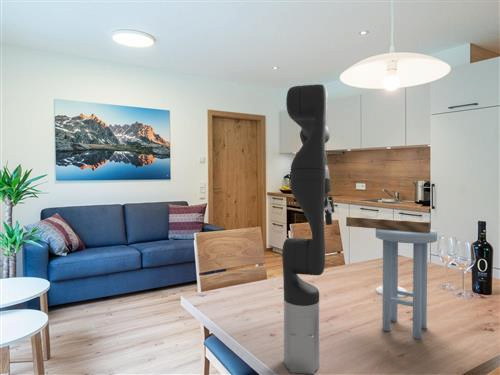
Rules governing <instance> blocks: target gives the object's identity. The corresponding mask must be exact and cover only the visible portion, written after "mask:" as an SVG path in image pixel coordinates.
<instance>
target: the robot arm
mask: <svg viewBox="0 0 500 375" xmlns="http://www.w3.org/2000/svg"><path fill="white" fill-rule="evenodd" d="M328 96H329V95H328V90H327V88H326V85H324V84H322V83H321V84H307V85H306V84H303V85H294V86H291V87H290V88H289V89H288V90H287V94H286V98H285V99H286V103H285V104H286V110H287V114H288V116H289V118H290V119H291V120H292V121H293V122H295V123H296V124H297V125H298V126H299V127H300V129H301V130H300V132H299V138H300V141H301V143H302V146H301V147H300V149H299V150H298V151H297V153H296V154H295V156H294V157H293V160H292V162H291V164H290V181H289V182H290V184H289V185H290V186H289V187H290V188H289V189H290V191H291V194H292V196H293V197H294V200H295V201H296V203H297V204H298V206H299V208H300V209H301V210H302V212H303V214H304V216H305V218H306V220H307V222H308V225H309V226H310V227H309V228H310V231H311V238H301V237H300V238H298V237H297V238H295V237H289V238H286V239H285V240H284V242H283V246H282V252H281V253H282V254H281V256H282V257H281V259H282V260H281V262H282V275H283V278H282V280H283V365H284V366H285V368H287V369H288V370H289V373H291V374H292V373H293V374H310V375H312V374H313V375H314V374H315V371H317V370H318V369H319V368H320V292H319V289H318V287H316V286H315V285H313V284H310V283H309V282H306V281H305V280H303V279H302V278H300V276H299V275H305V276H308V275H309V276H321V275H322V274H323V273H324V270H325V268H326V267H325V266H326V242H325V240H326V239H325V237H326V236H325V225H326V226H330V225H333V219H332V218H333V216H332V215H333V213H335V207H334V199H333V196H332V195H331V196H329V195H328V193H330V192H331V191H332V187H331V178H330V170H329V166H328V165H329V164H328V156H327V151H326V144H327V143H328V141H330V136H331V134H330V130H329V128H328V126H327V116H328Z"/></svg>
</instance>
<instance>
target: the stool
mask: <svg viewBox="0 0 500 375" xmlns="http://www.w3.org/2000/svg"><path fill="white" fill-rule="evenodd" d="M375 238H377V239H378V240H382V285H383V295H382V310H381V311H382V316H381V317H382V318H381V319H382V320H381V321H382V322H381V324H382V326H381V327H382V330H383V331H385V332H390V331H391V322H393V323H394V322H398V308H399V307H398V305H402V306H407V307H411V308H412V338H414V339H416V340H421V339H422V329H427V328H428V326H427V324H428V322H427V320H428V319H427V317H428V248H429V247H428V245H429V244H432V243H435V242H437V241H438V231H436V230H435V229H431V230H430V232H429V233H423V232H411V231H399V230H387V229H375ZM400 243H401V244H413V249H412V250H413V251H412V252H413V253H412V256H413V257H412V260H413V261H412V275H413V276H412V291H408V290H407V291H402V290H398V286H399V284H398V282H399V280H398V279H399V273H398V272H399V266H398V265H399V244H400ZM398 294H399V295H404V296H407V297H410V298H412V301H411V300H406V299H403V298H402V299H401V298H398Z"/></svg>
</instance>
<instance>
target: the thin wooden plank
mask: <svg viewBox="0 0 500 375" xmlns="http://www.w3.org/2000/svg"><path fill="white" fill-rule="evenodd" d="M345 220H346V223H345V224H346V227H351V228H352V227H353V228H364V229H374V230H376V229H387V230H399V231H411V232H423V233H429V232H430V230H432V229H431V227H432V226H431V223H432V222H431V221H428V220H413V219H412V220H411V219H399V218H382V217H369V216H368V217H367V216H366V217H365V216H354V215H349V216H346V217H345Z"/></svg>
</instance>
